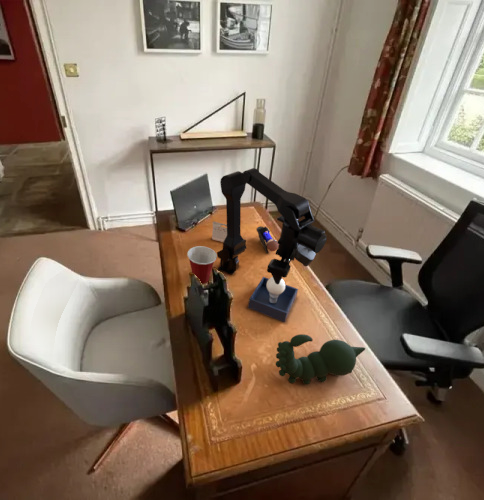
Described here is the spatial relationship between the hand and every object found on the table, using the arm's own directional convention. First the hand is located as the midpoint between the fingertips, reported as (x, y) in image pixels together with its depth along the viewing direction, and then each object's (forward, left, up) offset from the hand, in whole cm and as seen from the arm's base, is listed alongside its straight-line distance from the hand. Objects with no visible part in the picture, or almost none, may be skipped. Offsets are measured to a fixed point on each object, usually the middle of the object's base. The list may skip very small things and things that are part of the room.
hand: (281, 275), depth 106 cm
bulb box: (-1, -2, -12) cm, 12 cm away
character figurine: (-15, +30, -12) cm, 36 cm away
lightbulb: (-1, -2, -12) cm, 12 cm away
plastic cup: (-29, -3, -12) cm, 32 cm away
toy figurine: (+19, -22, -12) cm, 32 cm away
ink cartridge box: (-33, +24, -12) cm, 43 cm away
